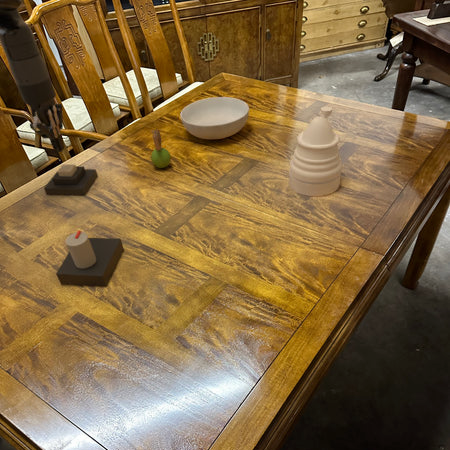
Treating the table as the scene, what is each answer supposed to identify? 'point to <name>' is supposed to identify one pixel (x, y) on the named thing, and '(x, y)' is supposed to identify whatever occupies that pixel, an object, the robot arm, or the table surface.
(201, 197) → the table surface
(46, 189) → the key block
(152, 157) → the green ball with handle
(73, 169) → the key
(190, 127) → the serving bowl
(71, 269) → the panel
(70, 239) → the volume knob
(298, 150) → the honey pot
